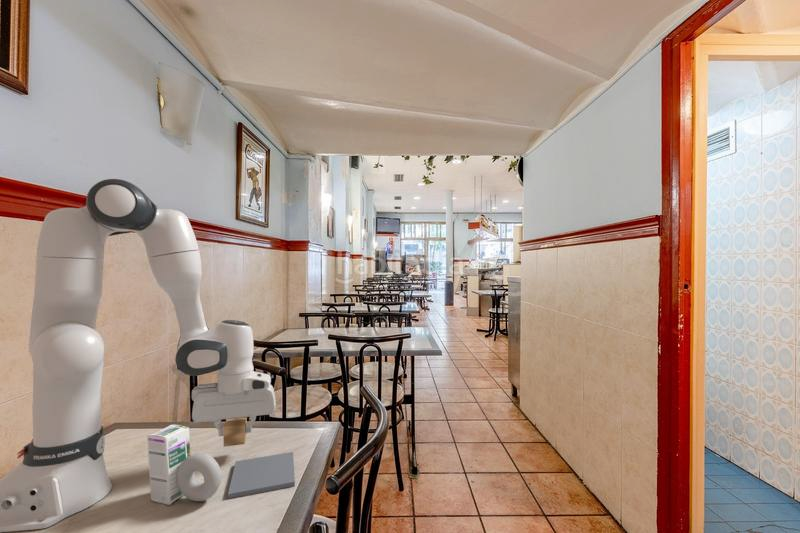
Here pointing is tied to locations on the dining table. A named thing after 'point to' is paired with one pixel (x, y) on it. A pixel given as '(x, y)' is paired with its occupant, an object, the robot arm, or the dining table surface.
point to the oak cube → (235, 432)
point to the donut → (191, 485)
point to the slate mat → (262, 475)
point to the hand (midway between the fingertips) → (235, 433)
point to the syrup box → (167, 461)
